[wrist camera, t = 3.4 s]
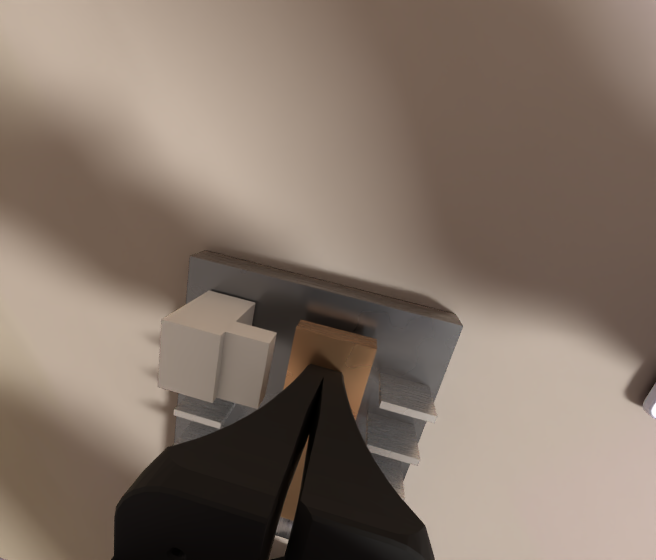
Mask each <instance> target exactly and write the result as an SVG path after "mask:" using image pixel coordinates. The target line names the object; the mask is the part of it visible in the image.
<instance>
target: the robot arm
mask: <svg viewBox="0 0 656 560" xmlns="http://www.w3.org/2000/svg"><path fill="white" fill-rule="evenodd" d="M643 409H644V410H645V411H646V412H647V413H648V414H649V415H650V416H651V417H653V418H655V419H656V383H655V384H654V386H653V388H652V389H651V391H650V392H649V394H648V396H647V397H646V399H645V400H644V403H643ZM308 436H309V438H308ZM307 439H308V444H307V451H306V457H305V463H304V469H303V475H302V482H301V488H300V494H299V499H298V504H297V508H296V512H295V516H294V521H293V525H292V529H291V533H290V537H289V541H288V545H287V549H286V553H285V557H284V560H435V559H434V555H433V551H432V547H431V544H430V540H429V537H428V533H427V530H426V527H425V525H424V524H423V522H422V521H421V520H420V519H419V518H418V517H417V516H416V514H415V513H414V512H413V511H412V510H411V509H410V508H409V506H408V505H407V504H406V503H405V502H404V501H403V500H402V498H401V497H400V496H399V495H398V493H397V492H396V491H395V489H394V488H393V487H392V485H391V484H390V483H389V481H388V480H387V478H386V477H385V475H384V474H383V472H382V471H381V469H380V468H379V466H378V465H377V463H376V462H375V460H374V458H373V456H372V454H371V453H370V451H369V449H368V447H367V445H366V443H365V441H364V439H363V437H362V435H361V433H360V431H359V428H358V426H357V423H356V421H355V418H354V415H353V413H352V410H351V407H350V403H349V400H348V397H347V393H346V389H345V384H344V376H343V374H342V372H339V371H335V370H331V369H328V368H324V367H320V366H317V365H313V364H309V365H307V367H306V368H305V369H304V370H303V372H302V373H301V374H300V375H299V376H298V377H297V378H296V379H295V380H294V381H293V382H292V383H291V384H290V385H289V386H287V387H286V388H285V389H284V390H283V391H282V392H280V393H279V394H278V395H277V396H275V397H274V398H273V399H272V400H270V401H269V402H268V403H266V404H265V405H263V406H262V407H260V408H259V409H257V410H256V411H254V412H253V413H251V414H249V415H247V416H246V417H244V418H242V419H240V420H239V421H237V422H235V423H233V424H231V425H229V426H227V427H224V428H222V429H220V430H217V431H215V432H213V433H210V434H208V435H205V436H202V437H200V438H197V439H193V440H190V441H187V442H184V443H180V444H177V445H174V446H170V447H167V448H166V449H165V450H164V451H163V452H162V453H161V454H160V455H159V456H158V457H157V458H156V459H155V460H154V461H153V462H152V463H151V464H150V465H149V466H148V467H147V468H146V469H145V470H144V471H143V472H142V474H141V475H140V476H139V477H138V478H137V480H136V481H135V482H134V483H133V485H132V486H131V487H130V488H129V489H128V491H127V492H126V493H125V494H124V496H123V497H122V498H121V500H120V501H119V503H118V504H117V506H116V512H115V519H114V557H113V558H112V559H111V560H268V559H269V555H270V551H271V548H272V544H273V541H274V537H275V534H276V530H277V526H278V523H279V519H280V516H281V512H282V509H283V505H284V502H285V499H286V496H287V493H288V490H289V487H290V484H291V482H292V479H293V476H294V474H295V471H296V468H297V466H298V463H299V460H300V458H301V455H302V452H303V450H304V447H305V444H306V442H307ZM0 560H6V559H3V558H0Z"/></svg>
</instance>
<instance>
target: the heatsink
mask: <svg viewBox="0 0 656 560" xmlns="http://www.w3.org/2000/svg"><path fill="white" fill-rule="evenodd" d="M207 291H213V292H217V293H221V294H225V295H228V296H232V297H236V298H240V299H244V300H247V301H251V302H255V309H254V315H253V322H252V326H254V327H258V328H261V329H265V330H269V331H272V332H276V333H277V335H276V340H275V346H274V351H273V357H272V362H271V367H270V373H269V378H268V384H267V389H266V394H265V397H264V398H263V400H262V402H261V404H260V406H259V408H260V407H262V406H263V405H265V404H266V403H268V402H269V401H270V400H272V399H273V398H274V397H275V396H277V395H278V394H279V393H280V392H282V391H283V389H284V384H285V379H286V374H287V369H288V364H289V359H290V354H291V349H292V344H293V339H294V334H295V330H296V327H297V325H298V323H299V322H300V320H301V319H302V320H306V321H310V322H313V323H317V324H321V325H325V326H328V327H332V328H336V329H340V330H344V331H347V332H351V333H355V334H359V335H362V336H366V337H370V338H374V339H377V351H376V354H375V357H374V361H373V364H372V367H371V371H370V374H369V377H368V381H367V384H366V387H365V390H364V394H363V397H362V400H361V404H360V407H359V410H358V414H357V417H356V420H355V421H356V423H357V426H358V428H359V431H360V433H361V435H362V437H363V439H364V441H365V443H366V445H367V447H368V449H369V451H370V453H371V454H372V456H373V458H374V460H375V462H376V463H377V465H378V466H379V468H380V469H381V471H382V472H383V474H384V475H385V477H386V478H387V480H388V481H389V483H390V484H391V485H392V487H393V488H394V489H395V491H396V492H397V493H398V495H399V496H400V497H401V498H402V500H403V501H404V500H405V497H404V486H403V481H404V478H405V476H406V473H407V470H408V468H409V465H410V464H412V465H416V466H418V464H419V462H420V456H419V450H418V442H419V439H420V437H421V434H422V431H423V429H424V426H425V424H426V421H428V422H431V423H435V421H436V419H437V413H436V410H435V406H434V400H435V398H436V395H437V393H438V390H439V387H440V385H441V382H442V380H443V377H444V374H445V372H446V369H447V367H448V364H449V361H450V359H451V356H452V354H453V351H454V348H455V346H456V343H457V341H458V338H459V336H460V333H461V330H462V328H463V325H462V324H461V322H460V320H459V319H458V317H457V316H456V314H453V313H449V312H445V311H442V310H438V309H434V308H430V307H426V306H422V305H418V304H414V303H410V302H406V301H402V300H398V299H394V298H390V297H386V296H383V295H379V294H375V293H371V292H367V291H363V290H359V289H355V288H351V287H347V286H343V285H339V284H335V283H331V282H327V281H324V280H320V279H316V278H312V277H308V276H304V275H300V274H296V273H292V272H288V271H284V270H280V269H276V268H272V267H268V266H264V265H261V264H257V263H253V262H249V261H245V260H241V259H237V258H233V257H229V256H225V255H221V254H217V253H213V252H209V251H202V252H200V253H197V254H194V255H191V256H190V260H189V272H188V284H187V296H186V304H188V303H189V302H191V301H192V300H194V299H196V298H197V297H199V296H201V295H202V294H204V293H206V292H207ZM259 408H258V409H259ZM256 410H257V409H255V408H251V407H248V406H244V405H241V404H237V403H234V402H231V401H227V400H224V399H220V398H216V399H215V400H214V401H213V403H211V402H207V401H204V400H200V399H197V398H193V397H190V396H187V395H183V394H180V393H178V403H177V406H176V408H175V409H174V415H175V416H176V427H175V439H174V444H173V445H172V446H174V445H177V444H180V443H184V442H187V441H190V440H193V439H197V438H200V437H202V436H205V435H208V434H210V433H213V432H215V431H217V430H220V429H222V428H224V427H227V426H229V425H231V424H233V423H235V422H237V421H239V420H240V419H242V418H244V417H246V416H247V415H249V414H251V413H253V412H254V411H256Z"/></svg>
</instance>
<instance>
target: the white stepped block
mask: <svg viewBox="0 0 656 560" xmlns="http://www.w3.org/2000/svg"><path fill="white" fill-rule="evenodd" d="M254 309H255V302H251V301H247V300H244V299H240V298H236V297H232V296H228V295H225V294H221V293H217V292H213V291H207V292H206V293H204V294H202V295H201V296H199V297H197V298H196V299H194V300H192V301H191V302H189V303H188V304H186V305H184V306H183V307H181V308H179V309H178V310H176V311H174V312H173V313H171V314H170V315H168V316H166V317H165V318H163V319H162V320H161V337H160V354H159V371H158V387H159V388H163V389H166V390H170V391H173V392H176V393H180V394H183V395H187V396H190V397H193V398H197V399H200V400H204V401H207V402H211V403H213V401H214V400H215V399H216V398H220V399H224V400H227V401H231V402H234V403H237V404H241V405H244V406H248V407H251V408H255V409H258V408H259V406H260V404H261V402H262V400H263V398H264V397H265V394H266V389H267V384H268V378H269V373H270V367H271V362H272V357H273V351H274V346H275V340H276V335H277V333H276V332H272V331H269V330H265V329H261V328H258V327H254V326H252V322H253V315H254Z"/></svg>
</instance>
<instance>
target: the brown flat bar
mask: <svg viewBox="0 0 656 560" xmlns="http://www.w3.org/2000/svg"><path fill="white" fill-rule="evenodd" d="M376 351H377V339H374V338H370V337H366V336H362V335H359V334H355V333H351V332H347V331H344V330H340V329H336V328H332V327H328V326H325V325H321V324H317V323H313V322H310V321H306V320H302V319H301V320H300V322H299V323H298V325H297V327H296V330H295V334H294V339H293V344H292V349H291V354H290V359H289V364H288V369H287V374H286V379H285V384H284V389H285V388H286V387H287V386H289V385H290V384H291V383H292V382H293V381H294V380H295V379H296V378H297V377H298V376H299V375H300V374H301V373H302V372H303V370H304V369H305V368H306V367H307V365H309V364H313V365H317V366H320V367H324V368H328V369H331V370H335V371H339V372H342V374H343V376H344V384H345V389H346V393H347V397H348V400H349V403H350V407H351V410H352V413H353V415H354V418H355V420H356V417H357V414H358V410H359V407H360V404H361V400H362V397H363V394H364V390H365V387H366V384H367V381H368V377H369V374H370V371H371V367H372V364H373V361H374V357H375V354H376ZM284 389H283V390H284ZM308 438H309V436H308ZM307 444H308V439H307V442H306V444H305V447H304V450H303V452H302V455H301V458H300V460H299V463H298V466H297V468H296V471H295V474H294V476H293V479H292V482H291V484H290V487H289V490H288V493H287V496H286V499H285V502H284V505H283V509H282V512H281V516H280V519H279V523H278V526H277V530H276V534H275V535H277V536H280V537H283V538H286V539H289V537H290V533H291V529H292V525H293V521H294V516H295V512H296V508H297V504H298V499H299V494H300V488H301V482H302V475H303V469H304V463H305V457H306V451H307Z"/></svg>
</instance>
